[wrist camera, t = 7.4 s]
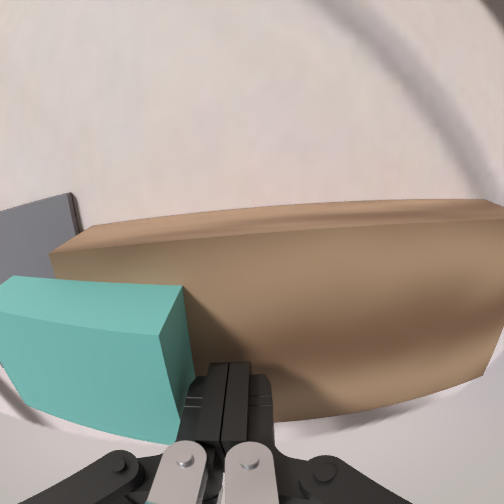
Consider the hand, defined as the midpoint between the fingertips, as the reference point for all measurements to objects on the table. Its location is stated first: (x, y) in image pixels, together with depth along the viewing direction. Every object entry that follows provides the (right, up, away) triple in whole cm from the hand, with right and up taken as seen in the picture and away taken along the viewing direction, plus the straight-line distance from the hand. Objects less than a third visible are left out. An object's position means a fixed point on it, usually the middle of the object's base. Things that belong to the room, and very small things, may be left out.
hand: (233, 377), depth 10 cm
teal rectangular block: (-6, +1, +1) cm, 6 cm away
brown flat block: (+4, +2, +4) cm, 6 cm away
